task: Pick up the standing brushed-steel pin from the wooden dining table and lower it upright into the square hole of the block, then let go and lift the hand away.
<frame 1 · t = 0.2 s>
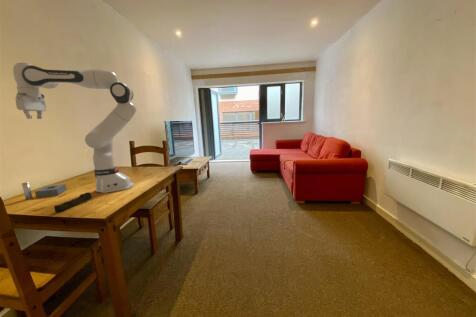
hand: (34, 118, 119), 47 cm above the table, fingers open, 8 cm apart
hand tool: (75, 205, 111), on the table
steel pin: (29, 198, 124), on the table
hole block: (52, 193, 131), on the table
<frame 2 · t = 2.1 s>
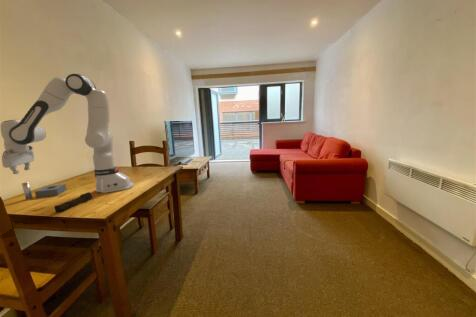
hand: (21, 171, 120), 17 cm above the table, fingers open, 8 cm apart
nothing on the table moved.
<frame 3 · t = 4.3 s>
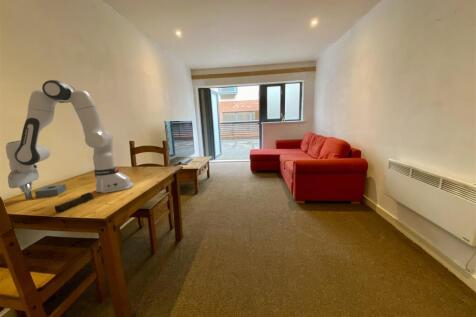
hand: (27, 190, 123), 5 cm above the table, fingers closed on steel pin, 3 cm apart
steel pin: (29, 198, 124), on the table, touching gripper
everything else where it was.
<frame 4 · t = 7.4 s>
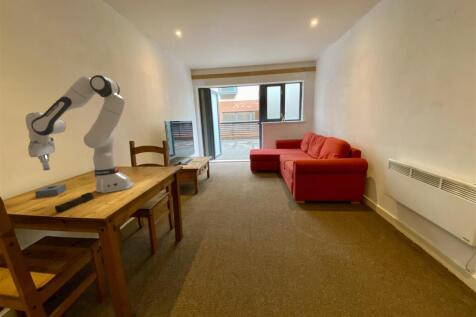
hand: (45, 161, 127), 21 cm above the table, fingers closed on steel pin, 3 cm apart
steel pin: (46, 169, 128), point 16 cm above the table, touching gripper
everything else where it was.
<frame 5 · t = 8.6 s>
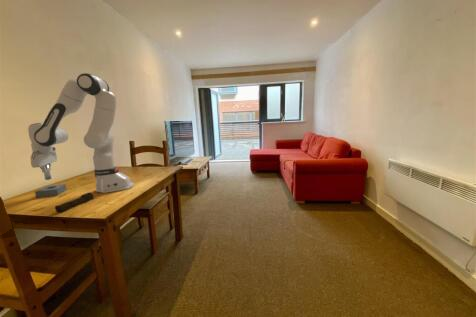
hand: (46, 171, 128), 15 cm above the table, fingers closed on steel pin, 3 cm apart
steel pin: (48, 179, 129), point 10 cm above the table, touching gripper
everything else where it was.
when the fingers open (7 cm above the table, at t = 10.7 s): steel pin drops 1 cm, resting in hole block.
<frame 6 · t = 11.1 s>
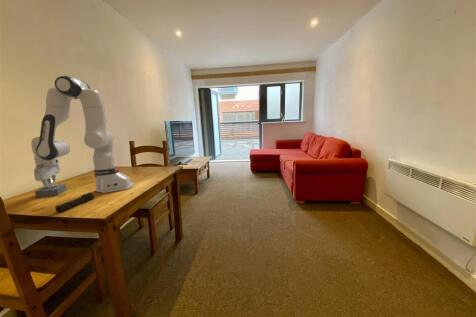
hand: (50, 183, 130), 7 cm above the table, fingers open, 7 cm apart
steel pin: (52, 193, 131), resting in hole block
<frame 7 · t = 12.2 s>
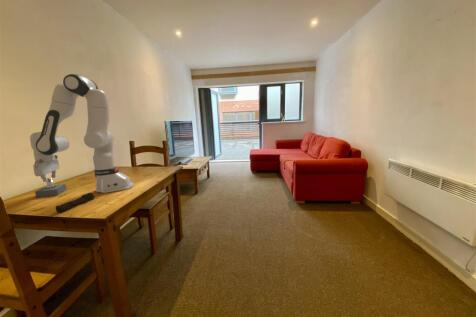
hand: (50, 179, 130), 9 cm above the table, fingers open, 8 cm apart
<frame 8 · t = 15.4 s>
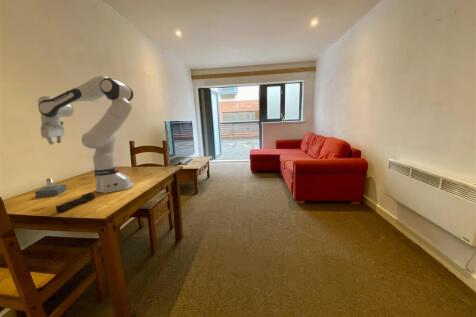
hand: (55, 143, 135), 31 cm above the table, fingers open, 8 cm apart
at the end: steel pin 0.0 cm off-centre on the hole block, point 0.0 cm above the hole block's base; steel pin tilted 0°; the gripper is holding nothing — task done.
